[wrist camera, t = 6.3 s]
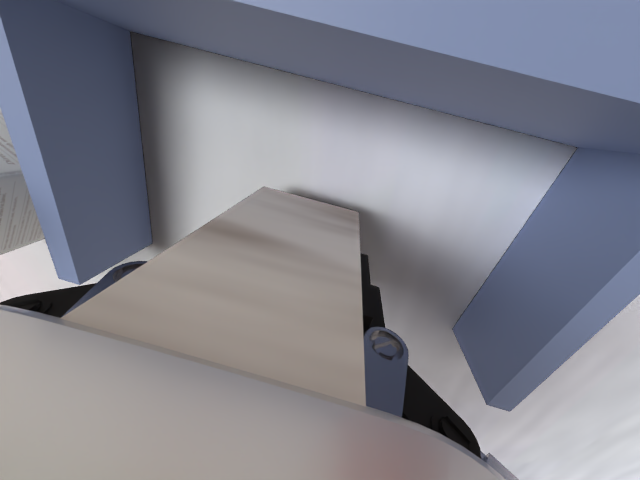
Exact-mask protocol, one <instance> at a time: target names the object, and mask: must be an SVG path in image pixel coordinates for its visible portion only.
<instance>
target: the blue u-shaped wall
mask: <svg viewBox="0 0 640 480" xmlns="http://www.w3.org/2000/svg"><path fill="white" fill-rule="evenodd" d="M130 31H131V32H135V33H139V34H143V35H147V36H151V37H155V38H158V39H162V40H166V41H170V42H174V43H178V44H182V45H185V46H189V47H193V48H197V49H201V50H205V51H208V52H212V53H216V54H220V55H224V56H228V57H232V58H235V59H239V60H243V61H247V62H251V63H255V64H258V65H262V66H266V67H270V68H274V69H278V70H282V71H285V72H289V73H293V74H297V75H301V76H305V77H309V78H312V79H316V80H320V81H324V82H328V83H332V84H335V85H339V86H343V87H347V88H351V89H355V90H359V91H362V92H366V93H370V94H374V95H378V96H382V97H386V98H389V99H393V100H397V101H401V102H405V103H409V104H412V105H416V106H420V107H424V108H428V109H432V110H436V111H439V112H443V113H447V114H451V115H455V116H459V117H463V118H466V119H470V120H474V121H478V122H482V123H486V124H489V125H493V126H497V127H501V128H505V129H509V130H513V131H516V132H520V133H524V134H528V135H532V136H536V137H540V138H543V139H547V140H551V141H555V142H559V143H563V144H566V145H570V146H574V147H578V148H577V150H576V151H575V153H574V154H573V155H572V157H571V158H570V160H569V161H568V163H567V164H566V166H565V167H564V168H563V170H562V171H561V173H560V174H559V176H558V177H557V179H556V180H555V181H554V183H553V184H552V186H551V187H550V189H549V190H548V192H547V193H546V194H545V196H544V197H543V199H542V200H541V202H540V203H539V205H538V206H537V207H536V209H535V210H534V212H533V213H532V215H531V216H530V218H529V219H528V220H527V222H526V223H525V225H524V226H523V228H522V229H521V231H520V232H519V233H518V235H517V236H516V238H515V239H514V241H513V242H512V244H511V245H510V246H509V248H508V249H507V251H506V252H505V254H504V255H503V257H502V258H501V259H500V261H499V262H498V264H497V265H496V267H495V268H494V270H493V271H492V272H491V274H490V275H489V277H488V278H487V280H486V281H485V283H484V284H483V285H482V287H481V288H480V290H479V291H478V293H477V294H476V296H475V297H474V298H473V300H472V301H471V303H470V304H469V306H468V307H467V309H466V310H465V311H464V313H463V314H462V316H461V317H460V319H459V320H458V322H457V323H456V324H455V326H454V327H453V329H452V330H453V332H454V334H455V336H456V338H457V341H458V343H459V345H460V347H461V349H462V352H463V354H464V356H465V358H466V360H467V363H468V365H469V367H470V369H471V371H472V374H473V376H474V378H475V380H476V382H477V385H478V387H479V389H480V391H481V393H482V396H483V398H484V400H485V402H486V404H487V405H489V406H493V407H496V408H500V409H503V410H506V411H511V410H512V409H514V408H515V407H516V406H517V405H518V404H519V403H520V402H521V401H522V400H523V399H525V398H526V397H527V396H528V395H529V394H530V393H531V392H532V391H533V390H534V389H536V388H537V387H538V386H539V385H540V384H541V383H542V382H543V381H544V380H545V379H547V378H548V377H549V376H550V375H551V374H552V373H553V372H554V371H555V370H556V369H558V368H559V367H560V366H561V365H562V364H563V363H564V362H565V361H566V360H567V359H569V358H570V357H571V356H572V355H573V354H574V353H575V352H576V351H577V350H578V349H580V348H581V347H582V346H583V345H584V344H585V343H586V342H587V341H588V340H589V339H591V338H592V337H593V336H594V335H595V334H596V333H597V332H598V331H599V330H600V329H602V328H603V327H604V326H605V325H606V324H607V323H608V322H609V321H610V320H611V319H613V318H614V317H615V316H616V315H617V314H618V313H619V312H620V311H621V310H623V309H624V308H625V307H626V306H627V305H628V304H629V303H630V302H631V301H632V300H634V299H635V298H636V297H637V296H638V295H639V294H640V0H0V108H1V111H2V114H3V117H4V120H5V123H6V126H7V129H8V132H9V135H10V138H11V141H12V144H13V146H14V149H15V152H16V155H17V158H18V161H19V164H20V167H21V170H22V173H23V176H24V179H25V182H26V184H27V187H28V190H29V193H30V196H31V199H32V202H33V205H34V208H35V211H36V214H37V217H38V220H39V222H40V225H41V228H42V231H43V234H44V237H45V240H46V243H47V246H48V249H49V252H50V255H51V258H52V260H53V263H54V266H55V269H56V272H57V275H58V278H59V279H62V280H65V281H68V282H72V283H75V284H79V285H80V284H82V283H84V282H86V281H87V280H89V279H91V278H93V277H94V276H96V275H98V274H100V273H101V272H103V271H105V270H107V269H108V268H110V267H112V266H114V265H115V264H117V263H119V262H121V261H122V260H124V259H126V258H128V257H129V256H131V255H133V254H135V253H136V252H138V251H140V250H142V249H143V248H145V247H147V246H149V245H150V244H152V234H151V225H150V215H149V206H148V197H147V187H146V178H145V168H144V159H143V150H142V140H141V131H140V122H139V112H138V103H137V93H136V84H135V75H134V65H133V56H132V47H131V37H130Z"/></svg>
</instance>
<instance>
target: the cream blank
mask: <svg viewBox="0 0 640 480" xmlns="http://www.w3.org/2000/svg"><path fill="white" fill-rule="evenodd" d="M60 319H64V320H67V321H71V322H74V323H78V324H81V325H85V326H88V327H92V328H96V329H99V330H103V331H106V332H110V333H113V334H117V335H121V336H124V337H128V338H131V339H135V340H138V341H142V342H145V343H149V344H153V345H156V346H160V347H163V348H167V349H170V350H174V351H177V352H181V353H184V354H187V355H191V356H194V357H198V358H201V359H205V360H208V361H212V362H215V363H219V364H222V365H226V366H229V367H233V368H236V369H240V370H243V371H247V372H250V373H253V374H257V375H260V376H264V377H267V378H271V379H274V380H278V381H281V382H284V383H288V384H291V385H295V386H298V387H301V388H305V389H308V390H311V391H315V392H318V393H322V394H325V395H328V396H332V397H335V398H339V399H342V400H345V401H349V402H352V403H356V404H359V405H362V406H365V407H366V393H365V366H364V339H363V311H362V284H361V256H360V229H359V212H356V211H353V210H349V209H345V208H342V207H338V206H334V205H330V204H327V203H323V202H319V201H316V200H312V199H308V198H305V197H301V196H297V195H294V194H290V193H286V192H282V191H279V190H275V189H271V188H268V187H262V188H261V189H259V190H258V191H256V192H254V193H253V194H251V195H250V196H248V197H247V198H245V199H244V200H242V201H241V202H239V203H237V204H236V205H234V206H233V207H231V208H230V209H228V210H227V211H225V212H224V213H222V214H220V215H219V216H217V217H216V218H214V219H213V220H211V221H210V222H208V223H207V224H205V225H203V226H202V227H200V228H199V229H197V230H196V231H194V232H193V233H191V234H190V235H188V236H187V237H185V238H183V239H182V240H180V241H179V242H177V243H176V244H174V245H173V246H171V247H170V248H168V249H166V250H165V251H163V252H162V253H160V254H159V255H157V256H156V257H154V258H153V259H151V260H149V261H148V262H146V263H145V264H143V265H142V266H140V267H139V268H137V269H136V270H134V271H132V272H131V273H129V274H128V275H126V276H125V277H123V278H122V279H120V280H119V281H117V282H116V283H114V284H112V285H111V286H109V287H108V288H106V289H105V290H103V291H102V292H100V293H99V294H97V295H95V296H94V297H92V298H91V299H89V300H88V301H86V302H85V303H83V304H82V305H80V306H78V307H77V308H75V309H74V310H72V311H71V312H69V313H68V314H66V315H65V316H63V317H61V318H60Z"/></svg>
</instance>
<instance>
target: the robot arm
mask: <svg viewBox="0 0 640 480" xmlns="http://www.w3.org/2000/svg"><path fill="white" fill-rule="evenodd" d="M360 256H361V284H362V311H363V339H364V366H365V393H366V407H365V406H362V405H359V404H356V403H352V402H349V401H345V400H342V399H339V398H335V397H332V396H328V395H325V394H322V393H318V392H315V391H311V390H308V389H305V388H301V387H298V386H295V385H291V384H288V383H284V382H281V381H278V380H274V379H271V378H267V377H264V376H260V375H257V374H253V373H250V372H247V371H243V370H240V369H236V368H233V367H229V366H226V365H222V364H219V363H215V362H212V361H208V360H205V359H201V358H198V357H194V356H191V355H187V354H184V353H181V352H177V351H174V350H170V349H167V348H163V347H160V346H156V345H153V344H149V343H145V342H142V341H138V340H135V339H131V338H128V337H124V336H121V335H117V334H113V333H110V332H106V331H103V330H99V329H96V328H92V327H88V326H85V325H81V324H78V323H74V322H71V321H67V320H64V319H60V318H61V317H63V316H65V315H66V314H68V313H69V312H71V311H72V310H74V309H75V308H77V307H78V306H80V305H82V304H83V303H85V302H86V301H88V300H89V299H91V298H92V297H94V296H95V295H97V294H99V293H100V292H102V291H103V290H105V289H106V288H108V287H109V286H111V285H112V284H114V283H116V282H117V281H119V280H120V279H122V278H123V277H125V276H126V275H128V274H129V273H131V272H132V271H134V270H136V269H137V268H139V267H140V266H142V265H143V264H145V263H146V262H147V261H136V262H129V263H125V264H122V265H119V266H117V267H115V268H113V269H112V270H111V271H109V272H108V273H107V274H106V275H105V276H104V277H103V278H102V279H101V280H100V281H99V282H98V283H95V284H89V285H83V286H77V287H71V288H65V289H59V290H53V291H47V292H41V293H35V294H29V295H24V296H20V297H15V298H12V299H9V300H6V301H3V302H1V303H0V480H518V479H517V478H516V477H515V476H514V475H513V474H512V473H511V472H510V471H509V470H508V469H506V468H505V467H504V466H503V465H502V464H501V463H500V462H499V461H498V460H497V459H496V458H494V457H493V456H492V455H491V454H490V453H488V454H487V455H485V454H484V453H482V452H481V451H480V447H479V445H478V442H477V440H476V437H475V436H474V434H473V433H472V431H471V429H470V428H469V427H468V426H467V424H466V423H465V422H464V421H463V420H462V419H461V418H460V417H459V416H458V415H457V414H456V413H455V412H454V411H453V410H452V409H451V408H450V407H449V406H448V405H447V404H446V403H445V402H444V401H443V400H442V399H441V398H440V397H439V396H438V395H437V394H436V393H435V392H434V391H433V390H432V389H431V388H430V387H429V386H428V385H427V384H426V383H425V382H424V381H423V380H422V379H421V378H420V377H419V376H418V375H417V374H416V373H415V372H414V371H413V370H412V369H411V368H410V367H409V366H408V349H407V347H406V344H405V343H404V341H403V340H402V339H401V338H400V337H399V336H398V335H397V334H396V333H394V332H392V331H391V330H389V329H386V328H385V323H384V317H383V310H382V303H381V296H380V289H379V287H376V286H373V285H370V274H369V263H368V255H365V254H361V253H360Z"/></svg>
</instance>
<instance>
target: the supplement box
mask: <svg viewBox="0 0 640 480" xmlns="http://www.w3.org/2000/svg"><path fill="white" fill-rule="evenodd" d="M42 239H45V237H44V234H43V231H42V228H41V225H40V222H39V220H38V217H37V214H36V211H35V208H34V205H33V202H32V199H31V196H30V193H29V190H28V187H27V184H26V182H25V179H24V176H23V173H22V170H21V167H20V164H19V161H18V158H17V155H16V152H15V149H14V146H13V144H12V141H11V138H10V135H9V132H8V129H7V126H6V123H5V120H4V117H3V114H2V111H1V108H0V255H1V254H4V253H7V252H10V251H12V250H15V249H18V248H21V247H23V246H26V245H29V244H31V243H34V242H37V241H40V240H42Z"/></svg>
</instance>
